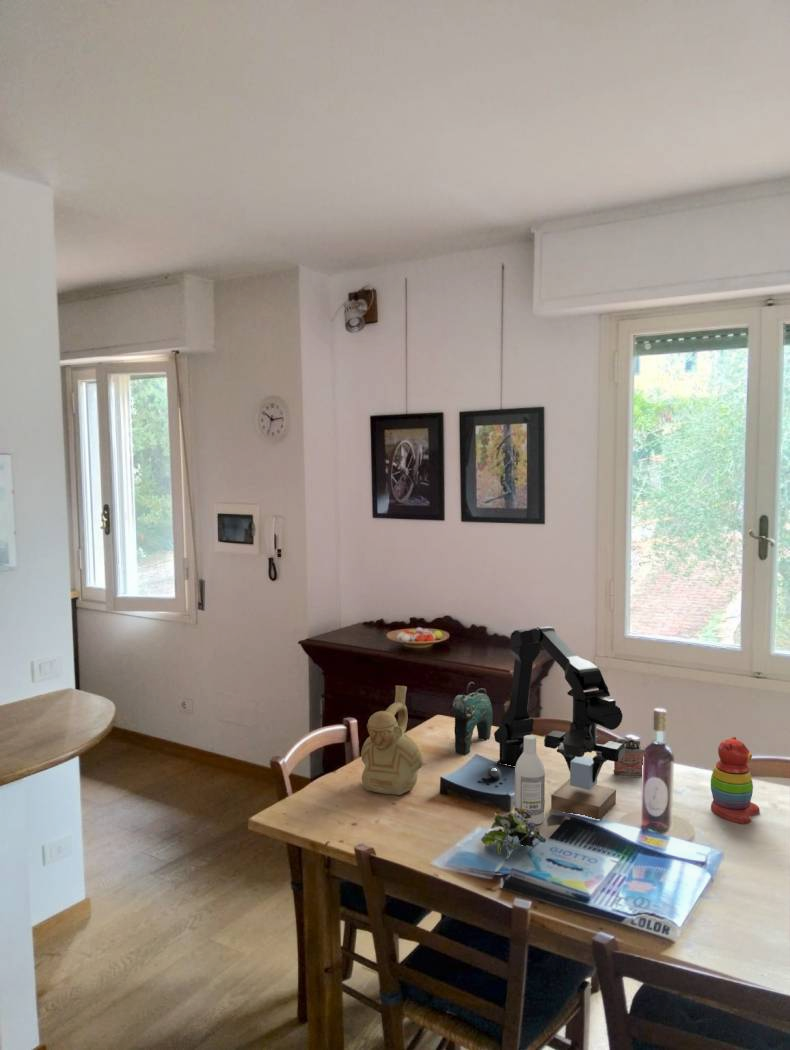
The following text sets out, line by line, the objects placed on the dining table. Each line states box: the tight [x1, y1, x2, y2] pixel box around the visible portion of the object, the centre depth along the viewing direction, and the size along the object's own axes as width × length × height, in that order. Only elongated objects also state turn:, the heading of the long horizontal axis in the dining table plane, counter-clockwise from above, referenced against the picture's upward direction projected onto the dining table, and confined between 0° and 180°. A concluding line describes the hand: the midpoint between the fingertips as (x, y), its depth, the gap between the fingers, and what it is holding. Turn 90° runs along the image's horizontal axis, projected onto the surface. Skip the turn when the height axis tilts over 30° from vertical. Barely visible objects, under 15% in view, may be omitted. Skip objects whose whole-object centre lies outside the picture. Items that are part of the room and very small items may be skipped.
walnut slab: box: [550, 778, 617, 820], centre depth 190 cm, size 12×12×4 cm
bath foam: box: [514, 734, 546, 826], centre depth 183 cm, size 7×7×20 cm
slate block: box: [569, 756, 598, 790], centre depth 190 cm, size 5×5×6 cm
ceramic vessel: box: [360, 685, 424, 796], centre depth 202 cm, size 17×20×25 cm
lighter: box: [613, 737, 646, 778], centre depth 210 cm, size 8×3×10 cm, turn 84°
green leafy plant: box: [481, 807, 547, 858], centre depth 167 cm, size 11×11×12 cm
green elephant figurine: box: [451, 681, 493, 756], centre depth 232 cm, size 20×6×20 cm, turn 147°
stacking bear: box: [710, 736, 761, 825], centre depth 186 cm, size 11×10×18 cm
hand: (583, 779), depth 190 cm, fingers closed on slate block, 5 cm apart
